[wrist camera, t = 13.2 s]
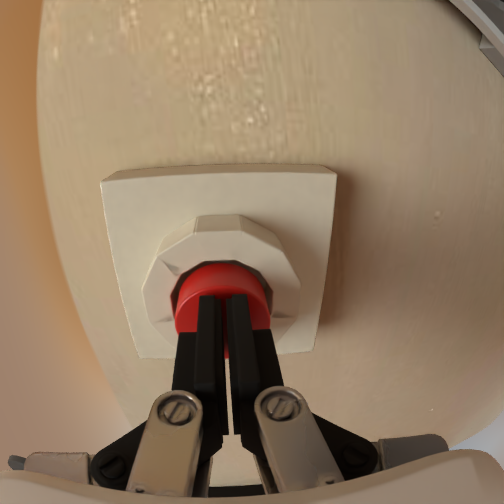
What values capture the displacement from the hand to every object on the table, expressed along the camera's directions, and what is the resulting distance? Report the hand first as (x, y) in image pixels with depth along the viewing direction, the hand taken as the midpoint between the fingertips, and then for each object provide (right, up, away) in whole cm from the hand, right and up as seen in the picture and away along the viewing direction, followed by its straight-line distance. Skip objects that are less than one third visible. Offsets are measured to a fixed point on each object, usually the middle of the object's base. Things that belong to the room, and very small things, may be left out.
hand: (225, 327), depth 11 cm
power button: (0, +1, +2) cm, 2 cm away
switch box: (-1, +2, +5) cm, 6 cm away
